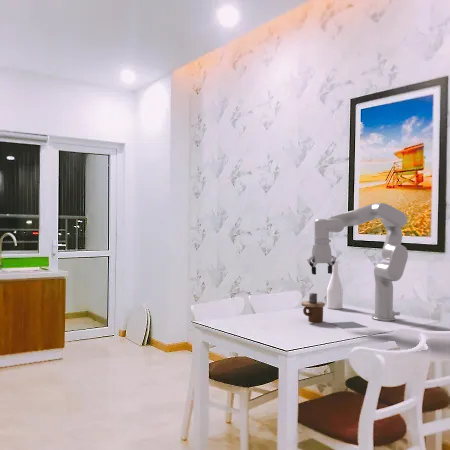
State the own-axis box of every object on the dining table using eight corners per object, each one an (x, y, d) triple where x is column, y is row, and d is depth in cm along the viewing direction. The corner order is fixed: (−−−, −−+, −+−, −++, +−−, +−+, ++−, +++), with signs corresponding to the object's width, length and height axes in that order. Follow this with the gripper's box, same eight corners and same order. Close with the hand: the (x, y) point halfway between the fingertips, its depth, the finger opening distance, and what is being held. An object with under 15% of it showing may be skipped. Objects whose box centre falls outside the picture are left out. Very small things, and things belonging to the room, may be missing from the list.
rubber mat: (352, 323, 265) (352, 321, 265) (368, 328, 251) (368, 327, 251) (327, 324, 260) (328, 322, 260) (342, 330, 247) (342, 328, 247)
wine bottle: (345, 308, 309) (346, 260, 309) (334, 309, 304) (335, 260, 304) (334, 306, 317) (335, 259, 317) (323, 307, 313) (324, 259, 312)
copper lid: (317, 303, 270) (317, 291, 270) (328, 306, 259) (329, 295, 259) (297, 303, 266) (297, 292, 266) (308, 307, 255) (308, 295, 255)
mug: (307, 325, 257) (308, 307, 256) (298, 322, 263) (299, 304, 263) (325, 323, 262) (326, 305, 262) (316, 320, 269) (316, 303, 269)
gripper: (332, 241, 273) (332, 272, 274) (304, 242, 268) (304, 273, 268) (339, 241, 266) (339, 273, 267) (310, 242, 261) (311, 275, 261)
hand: (322, 273), depth 267 cm, fingers open, 9 cm apart
